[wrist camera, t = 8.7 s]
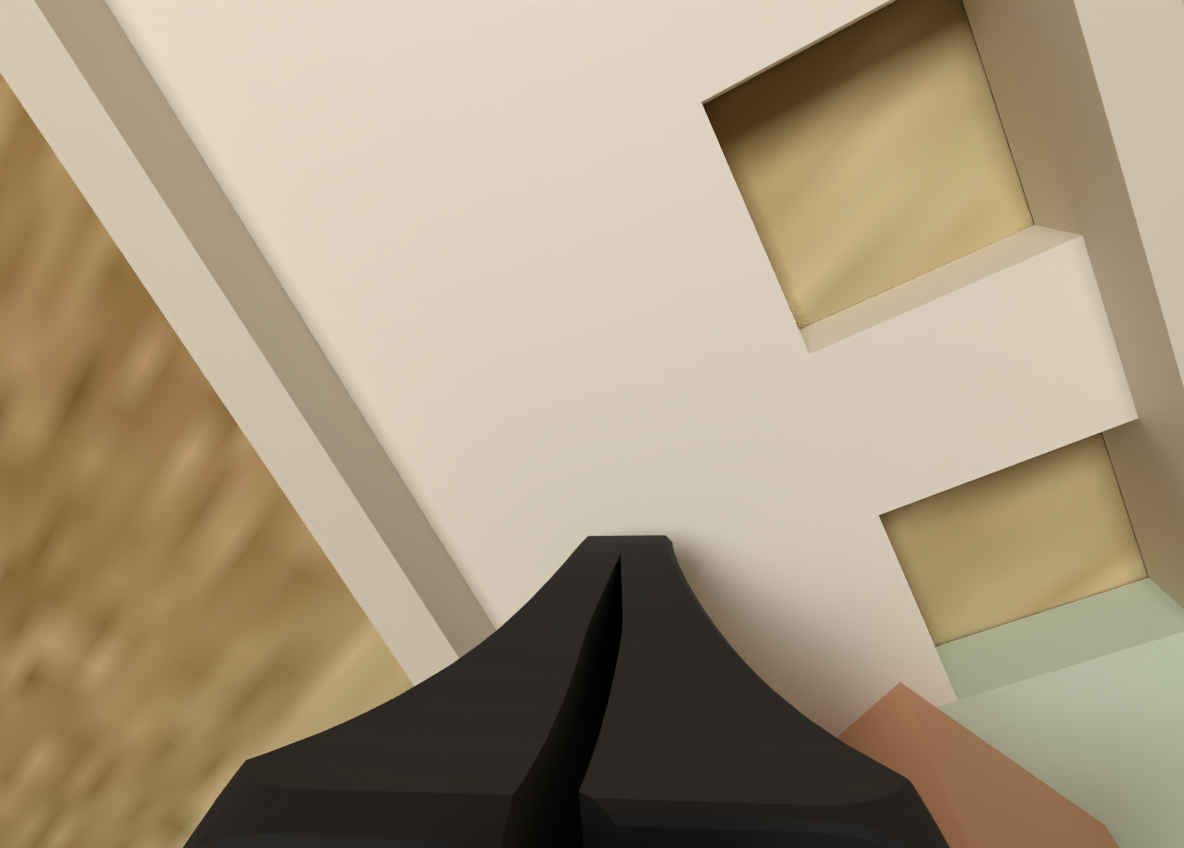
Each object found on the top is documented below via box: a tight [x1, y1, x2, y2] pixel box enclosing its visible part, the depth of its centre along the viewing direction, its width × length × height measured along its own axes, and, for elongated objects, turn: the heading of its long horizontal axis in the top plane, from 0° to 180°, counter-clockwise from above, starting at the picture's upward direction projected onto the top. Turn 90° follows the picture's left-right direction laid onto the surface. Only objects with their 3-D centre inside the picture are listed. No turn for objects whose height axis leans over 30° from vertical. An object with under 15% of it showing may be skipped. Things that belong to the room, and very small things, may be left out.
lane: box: [0, 0, 1184, 848], centre depth 12 cm, size 26×13×4 cm, turn 27°
